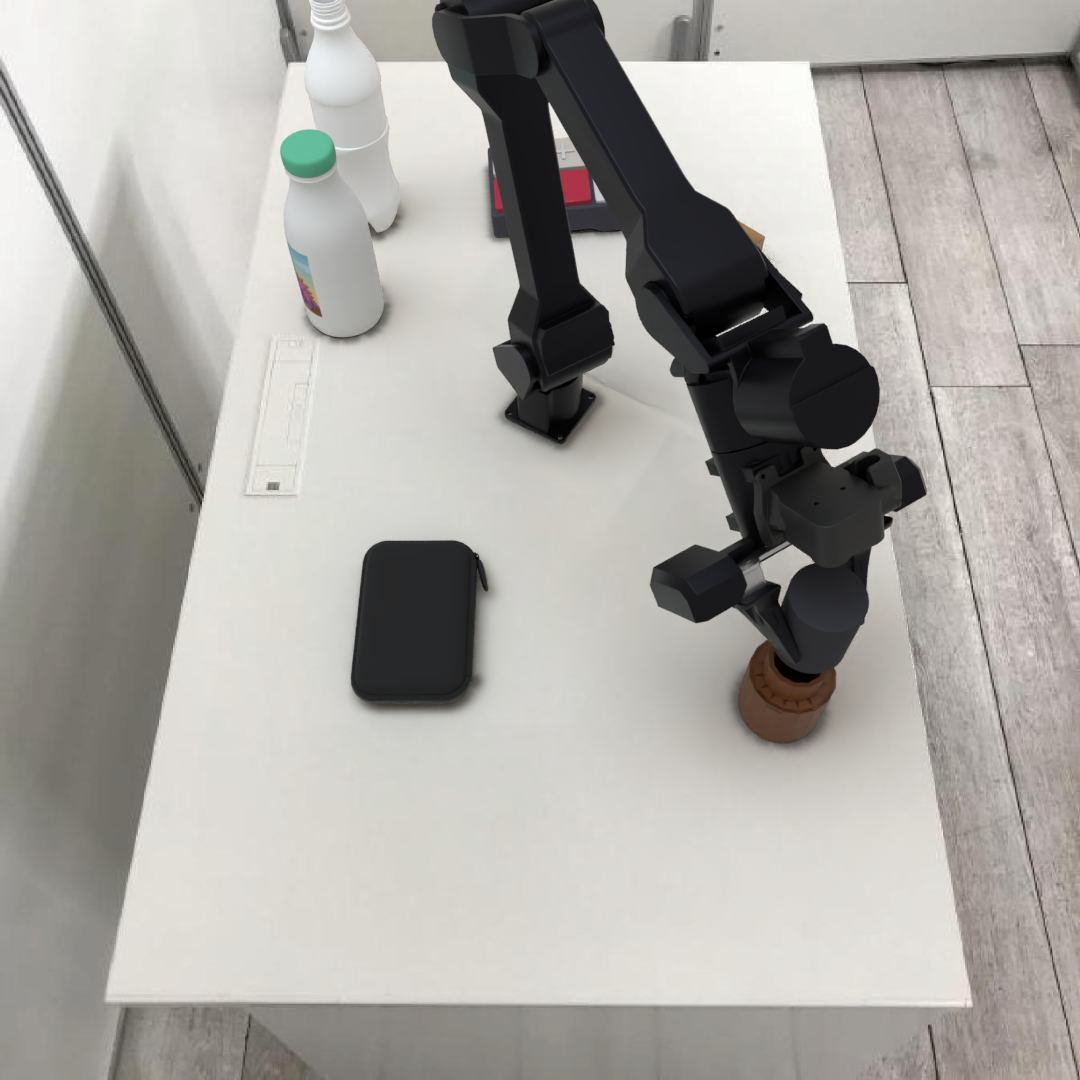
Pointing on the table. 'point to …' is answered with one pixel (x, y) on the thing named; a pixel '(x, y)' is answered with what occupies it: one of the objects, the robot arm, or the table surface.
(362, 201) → the water bottle
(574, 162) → the calculator
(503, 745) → the table surface
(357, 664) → the carrying case
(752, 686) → the bottle
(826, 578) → the bung
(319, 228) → the milk bottle
